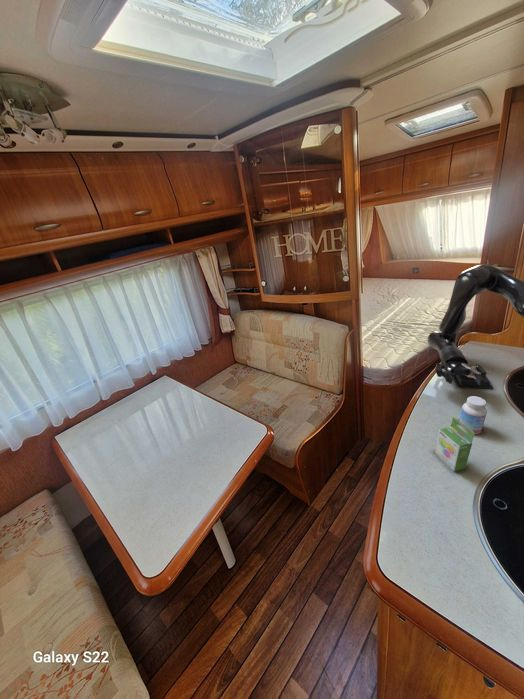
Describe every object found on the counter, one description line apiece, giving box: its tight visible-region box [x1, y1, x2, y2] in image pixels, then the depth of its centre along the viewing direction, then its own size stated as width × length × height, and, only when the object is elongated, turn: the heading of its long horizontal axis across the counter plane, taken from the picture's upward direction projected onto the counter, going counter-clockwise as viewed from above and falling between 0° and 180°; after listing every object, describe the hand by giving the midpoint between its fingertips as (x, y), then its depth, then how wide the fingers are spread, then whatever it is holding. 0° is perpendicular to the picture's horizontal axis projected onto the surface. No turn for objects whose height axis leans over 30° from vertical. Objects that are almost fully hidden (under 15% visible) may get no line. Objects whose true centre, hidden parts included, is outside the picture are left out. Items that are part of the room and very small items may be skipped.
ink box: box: [435, 416, 476, 473], centre depth 75 cm, size 7×4×13 cm, turn 10°
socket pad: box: [451, 372, 494, 390], centre depth 107 cm, size 11×11×3 cm
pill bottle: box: [457, 395, 488, 435], centre depth 85 cm, size 6×6×11 cm
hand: (465, 382), depth 91 cm, fingers open, 8 cm apart
